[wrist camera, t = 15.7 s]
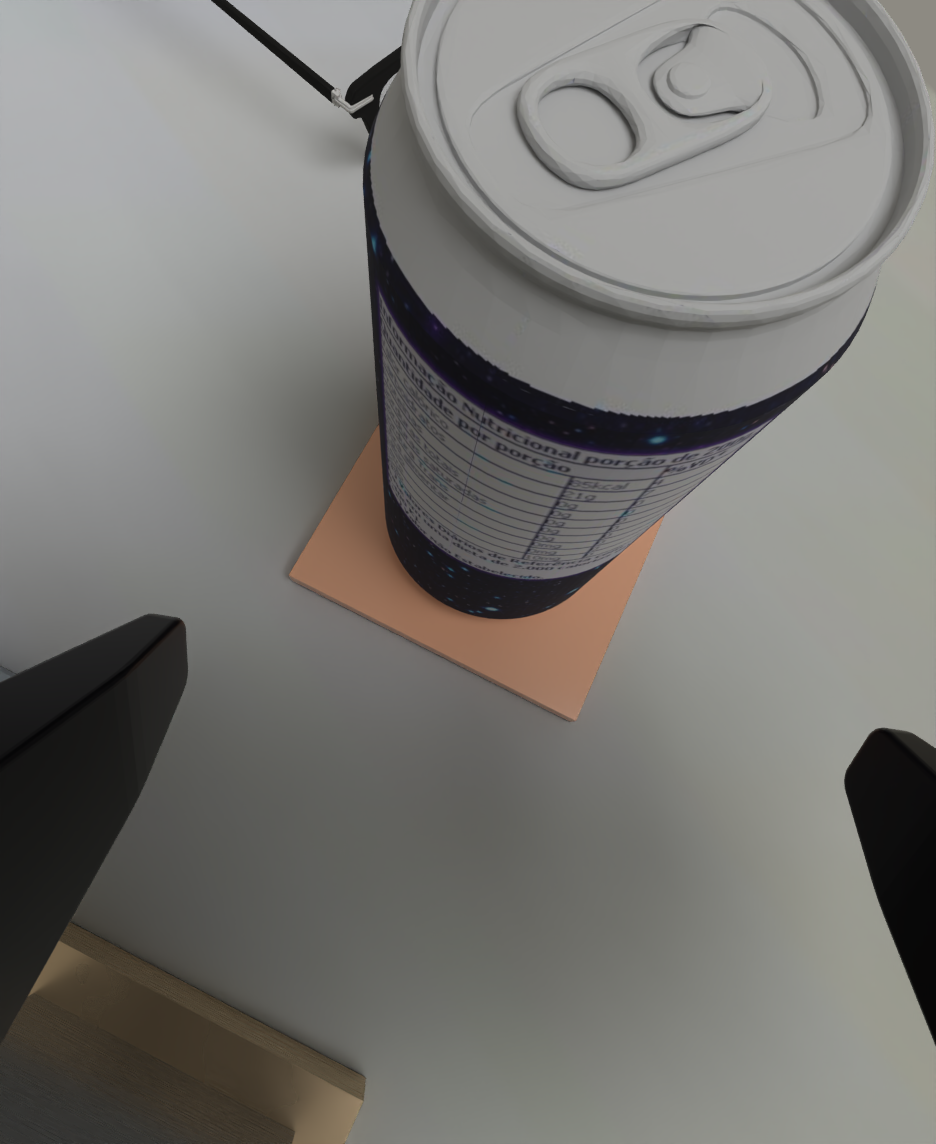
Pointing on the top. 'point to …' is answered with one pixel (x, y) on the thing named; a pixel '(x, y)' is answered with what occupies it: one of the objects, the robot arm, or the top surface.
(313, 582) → the terracotta pad
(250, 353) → the top surface
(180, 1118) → the grey unit
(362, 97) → the eyeglasses
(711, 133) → the beverage can
